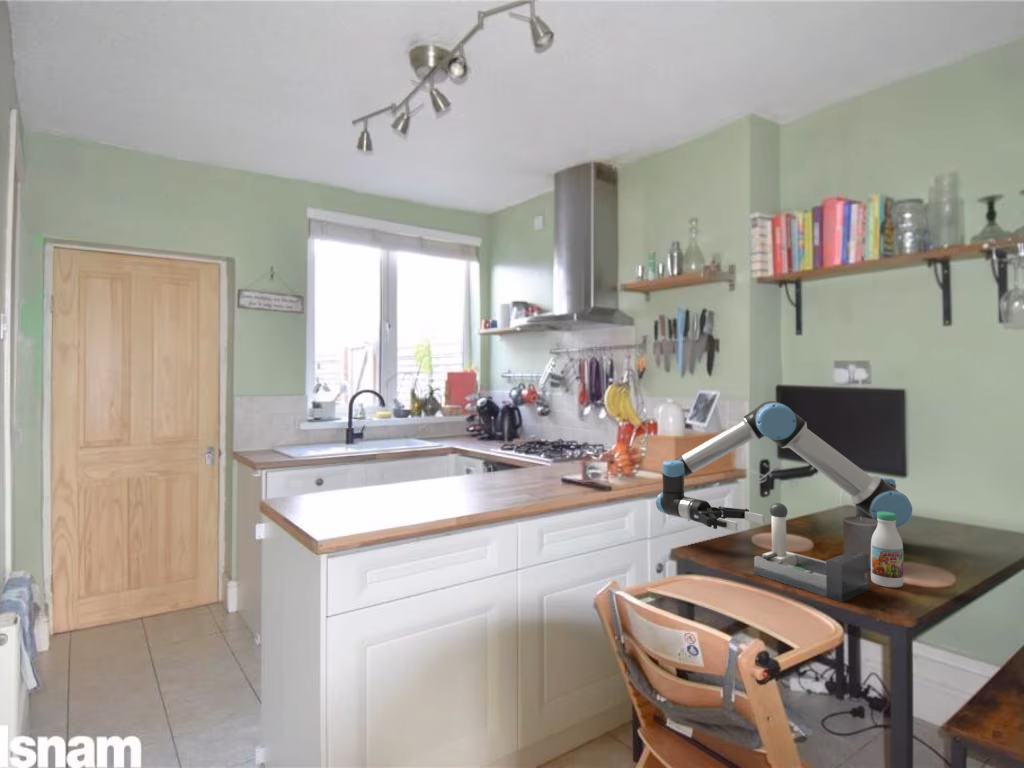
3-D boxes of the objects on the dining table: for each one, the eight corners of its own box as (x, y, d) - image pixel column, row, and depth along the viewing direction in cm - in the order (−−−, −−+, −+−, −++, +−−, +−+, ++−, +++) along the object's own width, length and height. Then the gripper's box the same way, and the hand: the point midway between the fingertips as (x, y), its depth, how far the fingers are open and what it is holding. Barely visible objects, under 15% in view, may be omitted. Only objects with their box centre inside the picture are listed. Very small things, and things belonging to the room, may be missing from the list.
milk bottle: (864, 579, 167) (864, 510, 166) (889, 577, 167) (889, 509, 167) (884, 589, 159) (883, 517, 159) (910, 587, 160) (910, 515, 159)
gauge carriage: (755, 566, 172) (755, 504, 171) (777, 559, 178) (777, 499, 177) (774, 572, 167) (773, 508, 166) (796, 564, 173) (795, 503, 172)
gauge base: (753, 573, 173) (752, 540, 173) (780, 564, 180) (780, 532, 180) (841, 602, 151) (841, 564, 151) (868, 590, 159) (868, 553, 158)
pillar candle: (837, 559, 184) (836, 512, 184) (868, 558, 184) (868, 511, 183) (854, 570, 174) (853, 521, 174) (887, 569, 174) (887, 520, 174)
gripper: (719, 515, 206) (774, 528, 188) (670, 526, 192) (725, 542, 174) (718, 494, 205) (773, 505, 188) (670, 504, 192) (724, 517, 174)
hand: (750, 523), depth 181 cm, fingers open, 13 cm apart
